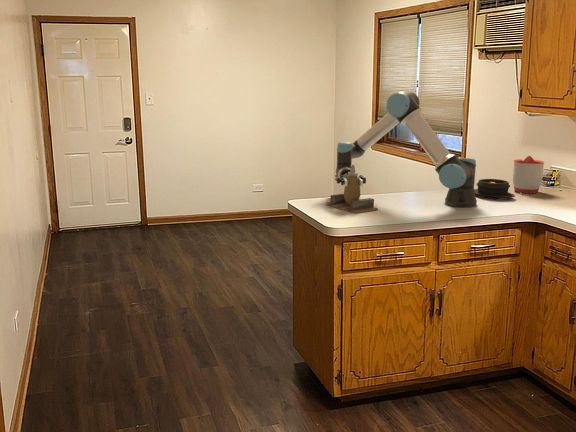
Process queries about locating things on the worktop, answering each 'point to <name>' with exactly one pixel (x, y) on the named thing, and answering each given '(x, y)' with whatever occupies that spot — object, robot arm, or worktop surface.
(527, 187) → the citrus juicer
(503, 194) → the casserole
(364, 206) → the end cap board
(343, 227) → the worktop surface
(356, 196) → the squeeze bottle
